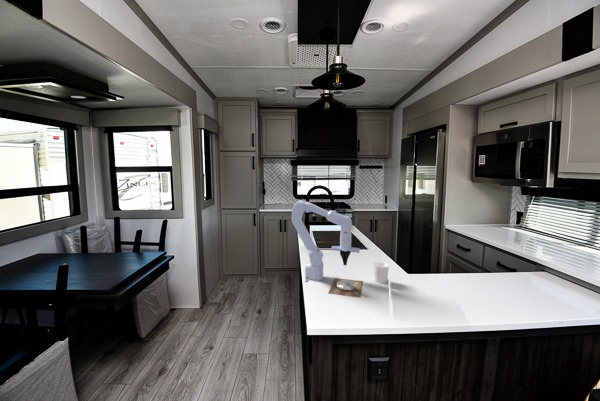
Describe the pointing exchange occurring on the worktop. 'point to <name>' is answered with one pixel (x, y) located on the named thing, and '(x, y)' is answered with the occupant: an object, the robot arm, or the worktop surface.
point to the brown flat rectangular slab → (345, 293)
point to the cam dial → (348, 285)
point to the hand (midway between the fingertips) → (345, 264)
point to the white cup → (380, 272)
